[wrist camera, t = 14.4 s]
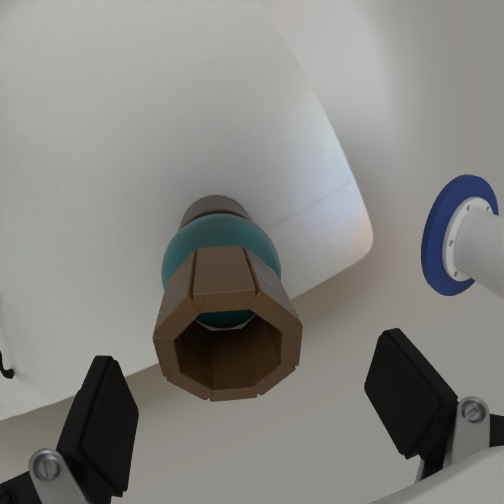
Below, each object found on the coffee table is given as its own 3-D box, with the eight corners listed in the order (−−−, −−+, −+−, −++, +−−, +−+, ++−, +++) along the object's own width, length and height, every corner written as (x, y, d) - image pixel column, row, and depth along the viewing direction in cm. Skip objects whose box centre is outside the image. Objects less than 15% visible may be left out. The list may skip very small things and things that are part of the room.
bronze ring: (277, 242, 14) (306, 284, 10) (276, 335, 16) (295, 392, 12) (161, 250, 13) (141, 296, 9) (177, 343, 15) (171, 403, 11)
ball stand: (253, 188, 25) (298, 228, 13) (255, 262, 28) (292, 350, 16) (173, 194, 24) (141, 239, 12) (181, 268, 27) (166, 361, 15)
